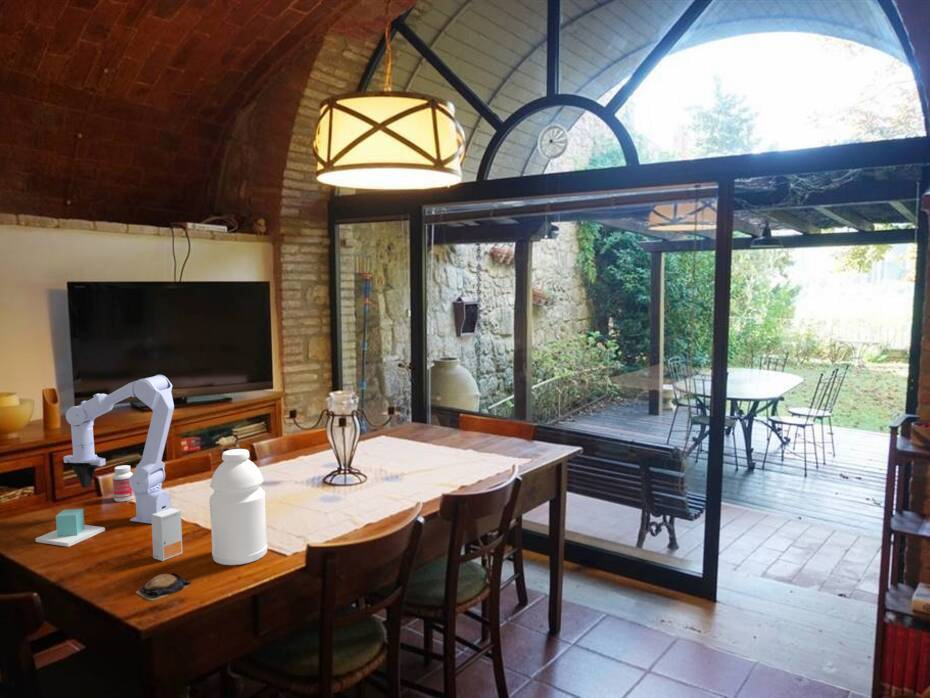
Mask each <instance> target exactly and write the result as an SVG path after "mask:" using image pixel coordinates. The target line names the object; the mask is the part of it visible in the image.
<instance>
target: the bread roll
mask: <svg viewBox="0 0 930 698" xmlns="http://www.w3.org/2000/svg"><path fill="white" fill-rule="evenodd" d="M190 585H192V581H188V580H187V579H186V578H183V577H181V576H180V575H179V574H176V573H174V572H171V573H170V574H169V573H162V574H158V575H156V576H154V577H152V578H151V579H150V580H149V581H147V582H146V583H145V584H143V585H142V586H141V587H140V590H136V592H135V594H136V595H138V596H140V597H141V598H143V599H145V600H147V601H149V602H154V601H157V600H159V599H162V598H165V597H167V596H171V595H173V594H175V593H177V592H179V591H181V590H184V589H186V588H188V587H190Z"/></svg>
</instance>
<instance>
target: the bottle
mask: <svg viewBox="0 0 930 698" xmlns="http://www.w3.org/2000/svg"><path fill="white" fill-rule="evenodd" d="M249 458H250V451H249V450H248V449H245V448H233V449H228V450H224V451H223V452H222V456H221V460H222V463H220V464H219V465H218V467H217V468H216V469H215V471H214V472H213V474H212V477H211V480H210V483H209V487H210V488H211V489H212V490H213V493H211V495H210V496H209V503H208V504H209V512H210V513H209V514H210V531H211V534H210V535H211V546H212V547H211V549H212V550H211V554H212V559H213V561H214V562H216V563H217V564H220V565H224V566H237V565H238V566H239V565H245V564H250V563H252V562H255V561H259V560H260V559H261V558H263V557H264V556H266V554H267V553H268V541H267V540H268V538H267V536H268V535H267V514H266V491H265V490H264V489H263V488H262V487H261V485H262V484H263V483H264V476H263V474H262V472H261V470H260V469H259V467H258V466H257V464H255V462H253V460H252V461H251V460H250V459H249Z"/></svg>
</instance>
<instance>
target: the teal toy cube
mask: <svg viewBox="0 0 930 698" xmlns="http://www.w3.org/2000/svg"><path fill="white" fill-rule="evenodd" d="M84 516H85V515H84V508H71V509H69V508H68V509H63V510H62V511H60V512H59V513H57V514H56V515H55V525H56V530H57V537H61V536H75V535H78V534H79V533H80V532H81V531H82V530H84V529H85V528H84V525H85V517H84Z"/></svg>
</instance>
